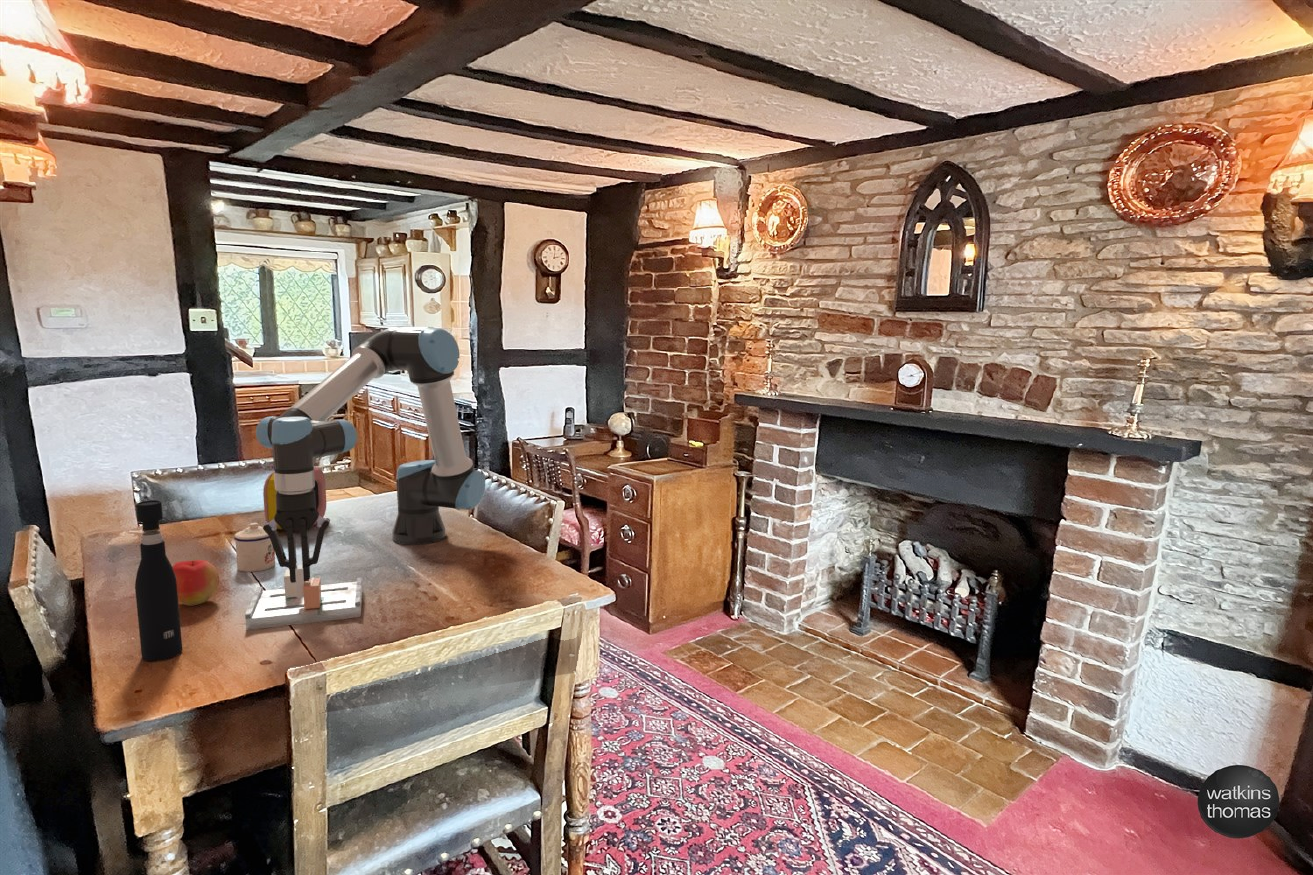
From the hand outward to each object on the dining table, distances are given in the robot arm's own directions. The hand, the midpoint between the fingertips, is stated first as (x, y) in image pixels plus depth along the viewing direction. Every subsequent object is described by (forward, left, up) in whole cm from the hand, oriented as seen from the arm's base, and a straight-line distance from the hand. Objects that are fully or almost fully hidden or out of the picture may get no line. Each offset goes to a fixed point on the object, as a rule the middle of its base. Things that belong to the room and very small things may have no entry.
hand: (301, 595), depth 152 cm
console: (-1, -4, -5) cm, 6 cm away
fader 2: (-2, 0, -2) cm, 3 cm away
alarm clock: (+8, -74, -5) cm, 75 cm away
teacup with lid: (+14, -39, -5) cm, 42 cm away
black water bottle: (+23, +11, -5) cm, 26 cm away
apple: (+23, -15, -5) cm, 28 cm away
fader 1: (+2, -8, -2) cm, 9 cm away
